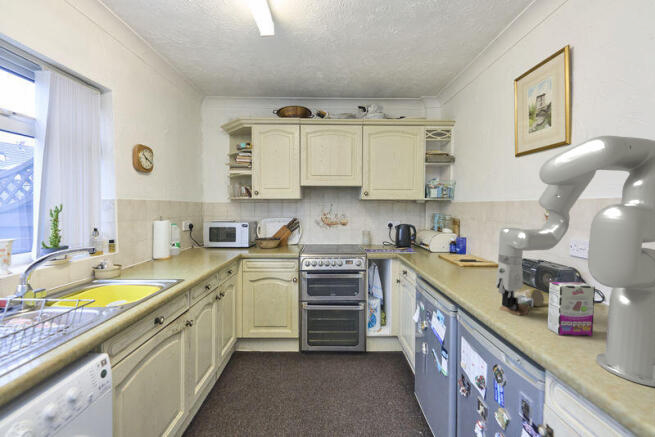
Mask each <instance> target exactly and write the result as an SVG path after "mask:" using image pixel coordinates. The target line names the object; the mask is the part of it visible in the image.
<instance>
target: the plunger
mask: <svg viewBox="0 0 655 437" xmlns="http://www.w3.org/2000/svg"><path fill="white" fill-rule="evenodd" d="M533 300H534V299H533V298H529V297H526V296H522V295H519V296H518V298H517V297H515V296H514V297H513V307H512V308H510V309H513V310H518V309H519V304H522V303H527V304H528V307H530V308H531V307H532V308H533V307H534V306H533ZM507 308H508V307H507Z"/></svg>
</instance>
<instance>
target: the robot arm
mask: <svg viewBox="0 0 655 437" xmlns="http://www.w3.org/2000/svg"><path fill="white" fill-rule="evenodd" d="M600 170H601V171H617V172H618V171H620V172H627V173H629V175H628V176H627V178H626V179H625V181H624V184H623V186H622V191H621V192H622V193H621V202H620V203H615V204H611V205H607V206H605V207H603V208H602V209H601V208H600V210H599V211H597V213H596V214H595V215H594V216H593V219H592V220H591V224H590V228H589V230H590V231H589V240H588V241H589V242H588V253H587V268H588V271H589V274H590V276H591V277H592V278H593V279H594V280H595V281H596V282H598V283H599V284H600V285H603V286H605V287H607V288H611V292H610V296H609V302H608V314H607V323H606V324H607V326H606V338H605V339H606V341H605V351H604V352H602V353H598V354H597V355H596V360H595V361H596V362H597V363H598V365H600V366H601V367H602V368H603V369H604V370H607V371H608V372H610V373H612V374H614V375H616V376H618V377H619V378H623V379H626V380H628V381H631V382H634V383H636V384H641V385H644V386H648V387H655V249H653V248H649V247H642V246H643V244H647V243H649V244H650V243H655V139H648V138H643V137H642V138H641V137H632V136H620V135H619V136H618V135H600V136H595V137H593V138H590V139H588V140H584V141H583V142H581V143H579V144H577V145H575V146H573V147H570V148H568V149H566V150H564V151H562V152H559V153H557V154H555V155H554V156H552V157H550V158H549V159H547V160H546V161H545V162H544V163H543V164H542V166H541V167H540V170H539V173H538V174H539V178H540V181H541V182H542V183H544V184H546V185H547V186H546V187H545V189H544V191H543V193H542V194H541V196H540V197H539V199H538V204H539V205H540V207H542V208H543V209H544V210H546V211H547V214H548V216H547V218H546V220H545V222H544V224H543V225H542V226H541V228H540V229H539V228H537V229H536V228H533V229H531V228H530V229H529V228H527V229H525V228H524V229H523V228H518V227H503V228H500V230H499V242H498V256H497V257H498V258H497V260H498V265H497V266H498V267H497V270H496V271H497V272H496V277H495V278H496V281H495V285H496V288H497V289H498V293H499V294H501V296H502V298H501V306H505V307H508V308H512V307H513V297H515V294H516V291H519V290H521V289H523V286H524V285H523V284H524V283H523V282H524V275H523V274H524V272H523V254H524V253H523V251H524V252H525V251H526V252H527V251H528V252H529V251H531V252H533V251H547V250H551V249H553V248H554V247H556V246H557V245H558V244H559V243H560V242H561V240H562V239H563V237H564V236H565V235H566V233H567V232H568V230H569V226H570V218H571V217H570V211H571V209H572V208H573V206H574V205H575V204H576V202H577V201H578V200H579V198H580V197H581V195H582V194H583V192H584V191H585V189H586V188H587V187H588V186H589V184H590V183H591V182H592V180H593V178H594V177H595V176H596V173H597V171H600Z"/></svg>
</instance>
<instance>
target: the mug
mask: <svg viewBox="0 0 655 437" xmlns="http://www.w3.org/2000/svg"><path fill="white" fill-rule="evenodd" d="M519 295H522V296H526V297H529V298H533V299H534V300H533V307H541V306H543V304H544V301H545V298H544V295H543V292H542V291H541V290H540V289H537V288H529V289H526V290H523V291H517V292H516V291H515V295H514V297H517V298H518V296H519Z"/></svg>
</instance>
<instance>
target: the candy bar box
mask: <svg viewBox="0 0 655 437" xmlns="http://www.w3.org/2000/svg"><path fill="white" fill-rule="evenodd" d="M548 283H549V286H548V287H549V288H548V291H549V292H548V309H547V310H548V311H547V329H548V330H549V331H551V332H553V333H554V334H556V335H558V336H576V337H577V336H587V337H588V336H589V337H590V336H593V335H594V313H595V312H594V311H595V297H596V296H595V295H596V294H595V293H596V286H595V285H592V284H589V283H586V282H580V281H579V282H578V281H577V282H575V281H574V282H573V281H572V282H571V281H569V282H567V281H566V282H565V281H562V282H559V281H550V282H548Z"/></svg>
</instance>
